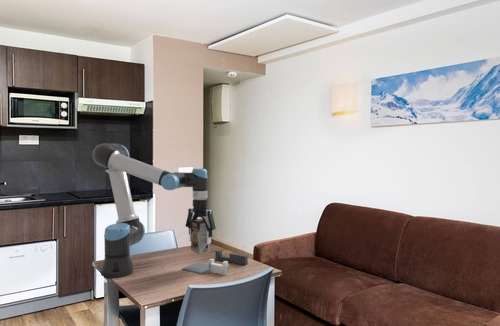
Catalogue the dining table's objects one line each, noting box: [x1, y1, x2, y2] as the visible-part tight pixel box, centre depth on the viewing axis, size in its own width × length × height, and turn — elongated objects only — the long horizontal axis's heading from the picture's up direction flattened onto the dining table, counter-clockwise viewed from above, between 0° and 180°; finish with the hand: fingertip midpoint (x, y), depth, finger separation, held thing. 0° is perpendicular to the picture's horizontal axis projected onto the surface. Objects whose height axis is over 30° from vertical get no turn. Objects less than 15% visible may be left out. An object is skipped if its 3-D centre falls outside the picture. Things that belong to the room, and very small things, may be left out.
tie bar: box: [215, 249, 249, 266], centre depth 202 cm, size 19×3×5 cm, turn 59°
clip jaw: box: [208, 258, 229, 276], centre depth 184 cm, size 10×2×6 cm, turn 59°
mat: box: [181, 261, 209, 275], centre depth 191 cm, size 13×13×1 cm
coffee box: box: [190, 218, 211, 255], centre depth 191 cm, size 9×6×16 cm
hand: (200, 242), depth 191 cm, fingers closed on coffee box, 10 cm apart
